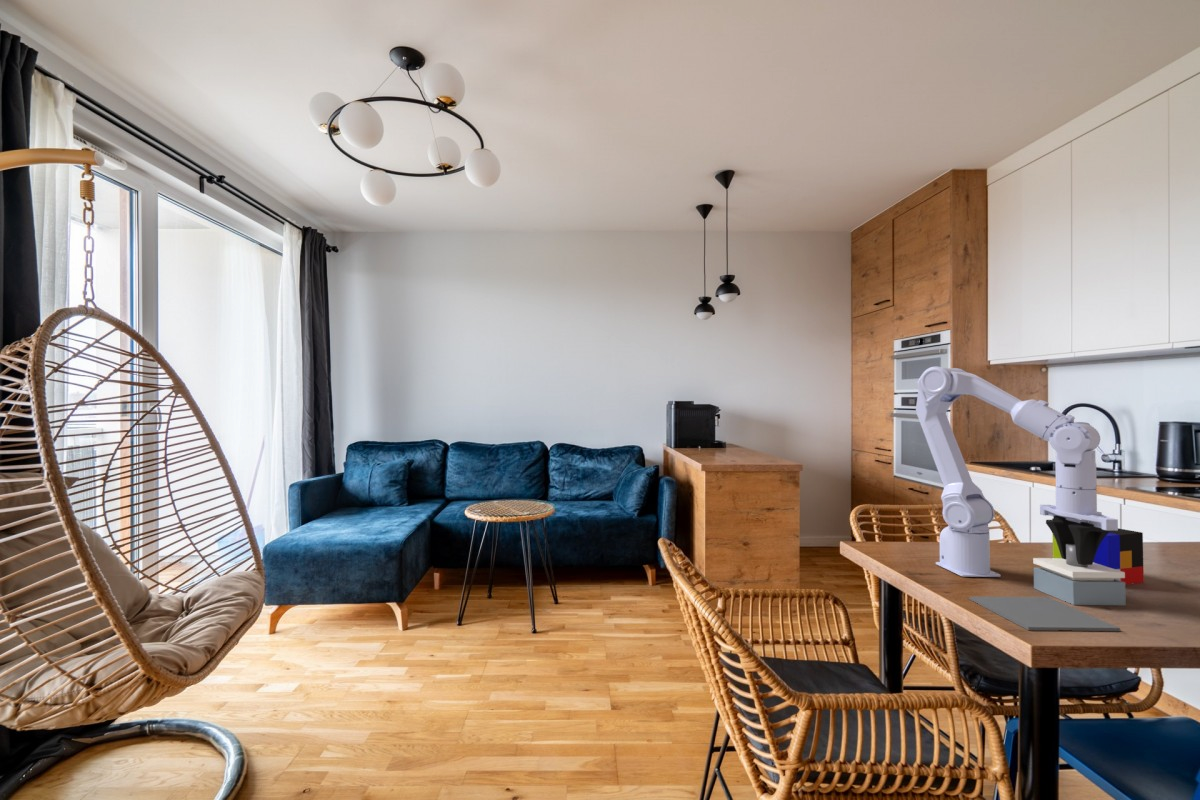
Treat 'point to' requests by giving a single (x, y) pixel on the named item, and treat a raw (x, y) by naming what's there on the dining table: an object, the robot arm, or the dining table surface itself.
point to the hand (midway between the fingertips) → (1076, 561)
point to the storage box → (1080, 589)
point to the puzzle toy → (1119, 554)
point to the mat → (1043, 614)
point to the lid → (1078, 568)
